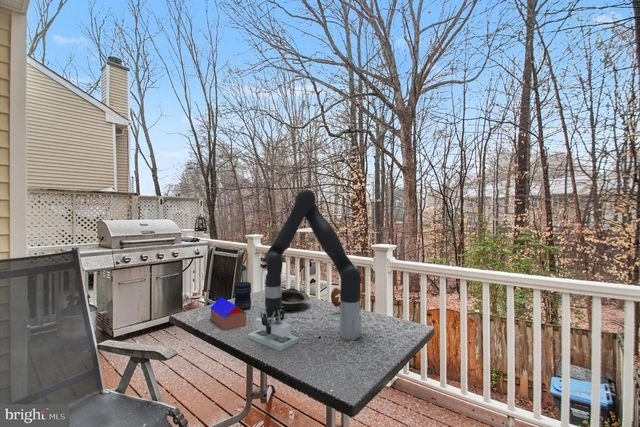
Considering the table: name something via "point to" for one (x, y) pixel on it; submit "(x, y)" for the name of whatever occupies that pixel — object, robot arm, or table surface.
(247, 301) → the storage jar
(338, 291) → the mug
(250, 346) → the table surface
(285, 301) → the stone bowl
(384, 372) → the table surface
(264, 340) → the hole board
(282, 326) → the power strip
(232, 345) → the table surface
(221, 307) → the house
